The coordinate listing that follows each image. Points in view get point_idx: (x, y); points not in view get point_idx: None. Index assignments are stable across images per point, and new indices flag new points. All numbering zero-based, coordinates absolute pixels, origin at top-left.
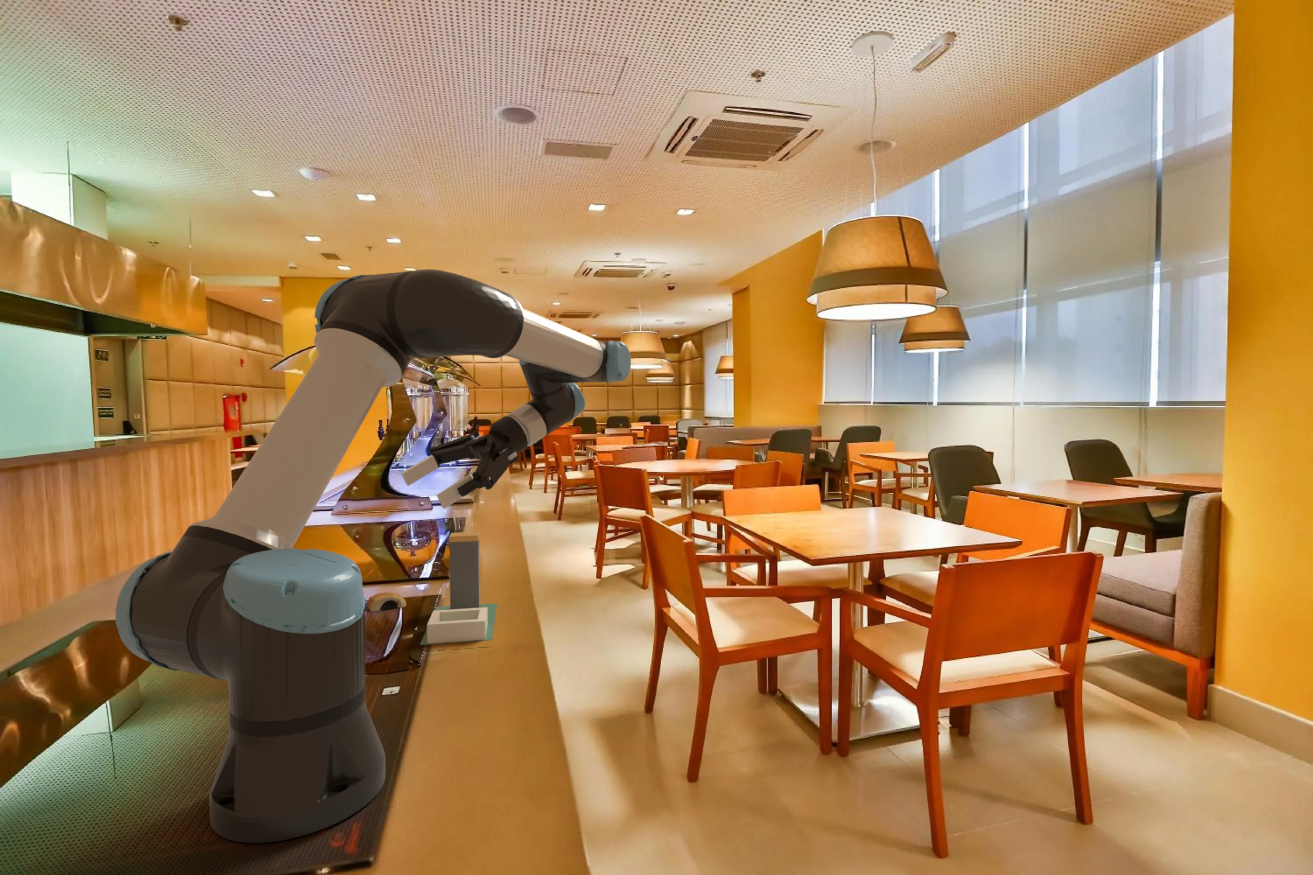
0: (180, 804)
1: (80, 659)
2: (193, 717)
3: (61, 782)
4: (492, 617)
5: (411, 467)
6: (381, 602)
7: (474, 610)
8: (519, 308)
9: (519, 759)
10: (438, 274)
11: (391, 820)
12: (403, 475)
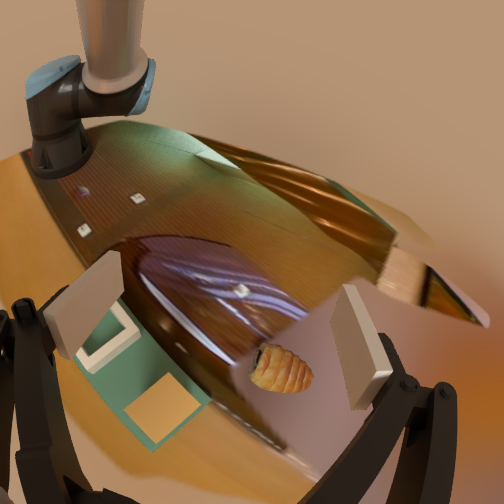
0: (102, 140)
1: (325, 194)
2: (172, 170)
3: (162, 134)
4: (107, 400)
5: (360, 306)
6: (262, 350)
7: (93, 353)
8: None
9: None
10: None
11: (22, 163)
12: (341, 289)
